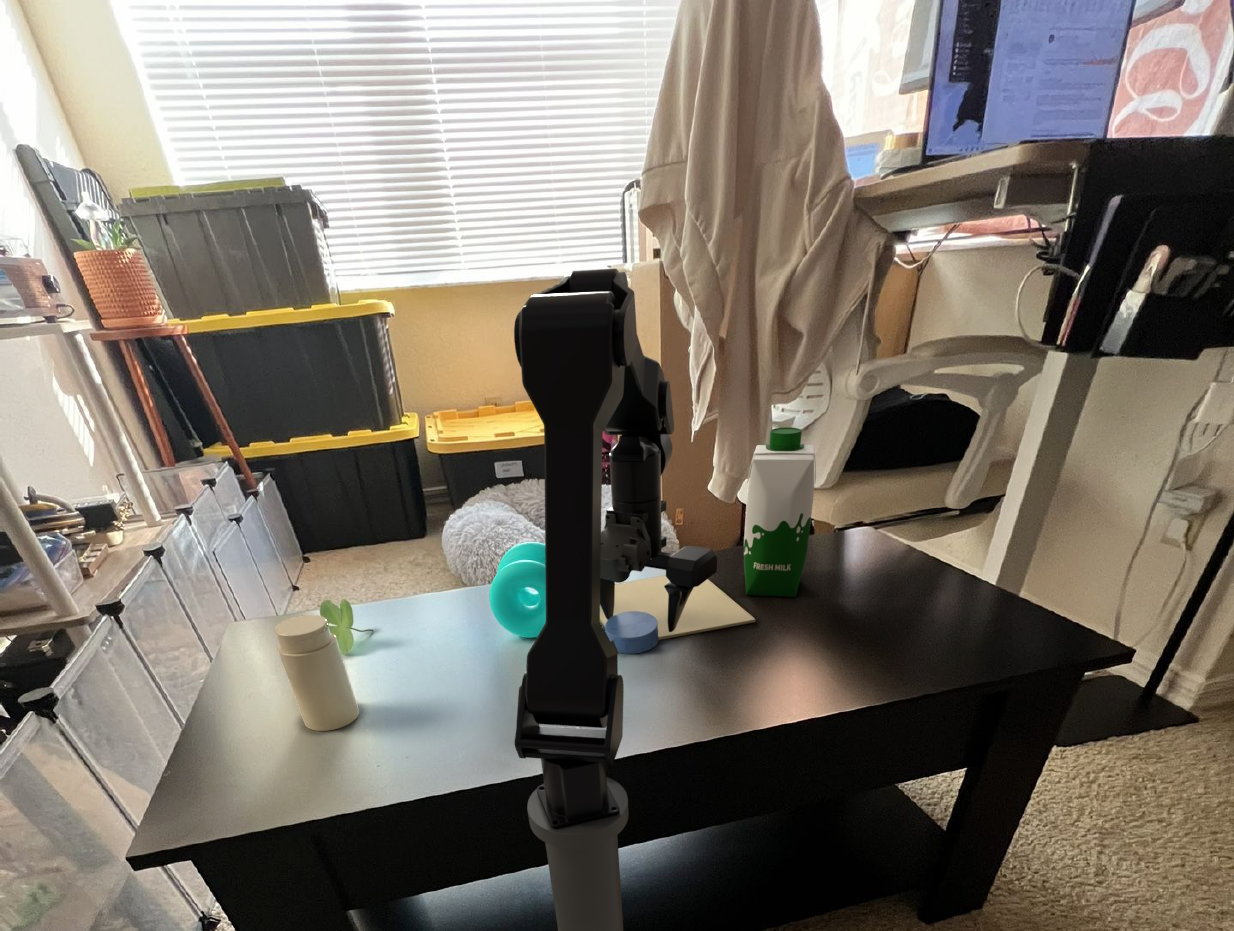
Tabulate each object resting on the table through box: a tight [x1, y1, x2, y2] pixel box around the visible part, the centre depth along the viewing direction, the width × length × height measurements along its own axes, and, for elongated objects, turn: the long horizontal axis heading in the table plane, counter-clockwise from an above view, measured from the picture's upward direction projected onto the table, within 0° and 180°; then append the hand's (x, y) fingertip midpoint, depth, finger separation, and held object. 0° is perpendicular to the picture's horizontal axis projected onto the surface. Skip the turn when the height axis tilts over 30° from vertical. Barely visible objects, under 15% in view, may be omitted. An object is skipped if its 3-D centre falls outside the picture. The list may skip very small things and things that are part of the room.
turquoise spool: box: [488, 541, 546, 639], centre depth 95 cm, size 10×10×10 cm
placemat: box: [600, 575, 757, 641], centre depth 101 cm, size 20×19×1 cm
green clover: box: [319, 599, 374, 656], centre depth 97 cm, size 7×8×6 cm
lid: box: [604, 611, 659, 655], centre depth 92 cm, size 7×7×2 cm
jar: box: [274, 614, 360, 732], centre depth 78 cm, size 6×6×11 cm
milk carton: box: [743, 426, 817, 598], centre depth 99 cm, size 9×9×20 cm
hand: (640, 624), depth 93 cm, fingers open, 9 cm apart
